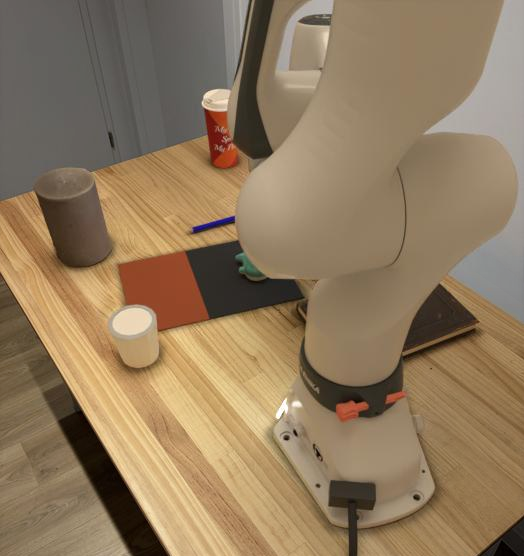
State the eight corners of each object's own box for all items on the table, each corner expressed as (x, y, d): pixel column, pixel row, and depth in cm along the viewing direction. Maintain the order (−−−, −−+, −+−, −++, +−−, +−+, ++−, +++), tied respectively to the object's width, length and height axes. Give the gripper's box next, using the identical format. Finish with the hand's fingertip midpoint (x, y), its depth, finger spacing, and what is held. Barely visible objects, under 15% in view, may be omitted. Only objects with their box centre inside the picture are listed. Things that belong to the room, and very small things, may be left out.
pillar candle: (46, 260, 97) (17, 185, 86) (77, 229, 103) (54, 155, 92) (93, 273, 95) (70, 197, 84) (122, 240, 101) (104, 165, 90)
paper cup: (222, 174, 116) (217, 108, 106) (199, 160, 120) (193, 95, 109) (249, 161, 120) (248, 96, 109) (227, 148, 123) (223, 84, 113)
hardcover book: (475, 331, 85) (479, 320, 84) (347, 381, 79) (349, 371, 77) (414, 271, 95) (416, 260, 93) (295, 311, 89) (296, 301, 87)
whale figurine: (250, 288, 92) (250, 271, 89) (227, 265, 96) (226, 247, 93) (279, 275, 94) (279, 258, 91) (255, 253, 98) (254, 235, 95)
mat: (304, 297, 91) (304, 297, 91) (134, 336, 85) (133, 335, 85) (269, 234, 102) (269, 233, 102) (117, 265, 97) (117, 264, 96)
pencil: (268, 209, 107) (268, 204, 107) (270, 211, 107) (270, 207, 106) (186, 232, 102) (186, 227, 102) (188, 234, 102) (187, 230, 101)
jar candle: (122, 376, 80) (112, 344, 75) (113, 344, 84) (102, 311, 79) (168, 363, 81) (162, 330, 76) (156, 332, 86) (149, 298, 80)
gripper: (254, 160, 77) (255, 240, 87) (388, 137, 81) (373, 216, 91) (241, 137, 80) (244, 217, 91) (369, 117, 85) (357, 195, 95)
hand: (309, 216), depth 91 cm, fingers closed
